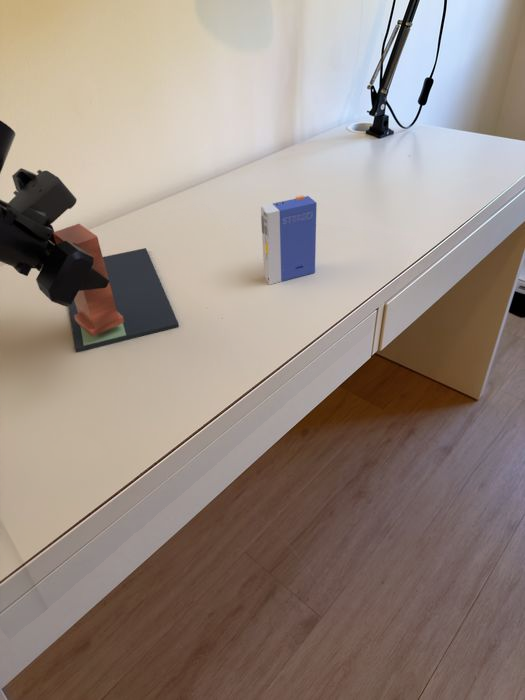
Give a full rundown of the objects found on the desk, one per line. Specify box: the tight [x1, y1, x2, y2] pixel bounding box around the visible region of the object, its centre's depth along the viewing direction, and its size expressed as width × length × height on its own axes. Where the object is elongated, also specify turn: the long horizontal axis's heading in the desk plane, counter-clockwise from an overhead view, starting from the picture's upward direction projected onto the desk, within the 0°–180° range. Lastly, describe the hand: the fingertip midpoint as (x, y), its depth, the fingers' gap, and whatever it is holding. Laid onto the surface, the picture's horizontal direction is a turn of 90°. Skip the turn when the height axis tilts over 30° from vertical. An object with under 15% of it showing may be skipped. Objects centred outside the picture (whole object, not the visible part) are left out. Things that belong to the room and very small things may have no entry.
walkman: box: [260, 194, 318, 285], centre depth 79 cm, size 8×3×12 cm, turn 112°
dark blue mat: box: [67, 247, 180, 353], centre depth 80 cm, size 24×14×1 cm, turn 21°
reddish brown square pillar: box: [53, 223, 124, 337], centre depth 68 cm, size 5×5×13 cm
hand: (97, 276), depth 68 cm, fingers closed on reddish brown square pillar, 5 cm apart
